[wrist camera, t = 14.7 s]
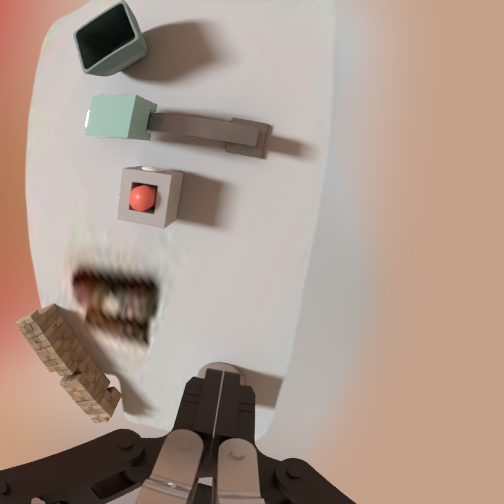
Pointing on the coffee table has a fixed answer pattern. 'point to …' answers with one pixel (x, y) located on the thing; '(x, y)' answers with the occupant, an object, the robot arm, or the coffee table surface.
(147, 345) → the coffee table surface
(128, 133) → the carriage
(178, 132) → the handrail
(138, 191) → the button
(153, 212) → the cabinet
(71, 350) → the block tower
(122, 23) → the flower pot
